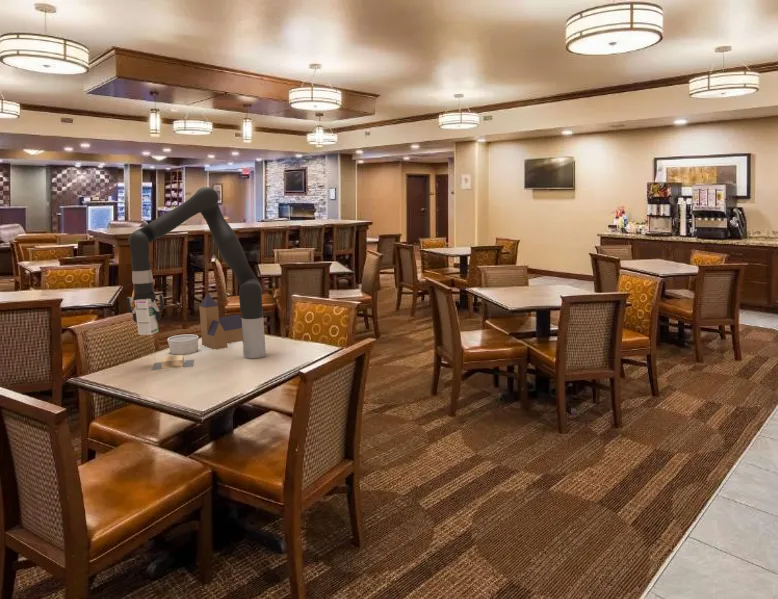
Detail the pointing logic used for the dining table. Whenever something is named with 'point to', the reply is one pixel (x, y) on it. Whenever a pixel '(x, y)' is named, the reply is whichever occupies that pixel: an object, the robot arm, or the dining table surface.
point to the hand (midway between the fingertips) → (147, 321)
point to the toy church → (218, 326)
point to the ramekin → (183, 344)
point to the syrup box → (146, 317)
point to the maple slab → (172, 361)
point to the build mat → (186, 364)
